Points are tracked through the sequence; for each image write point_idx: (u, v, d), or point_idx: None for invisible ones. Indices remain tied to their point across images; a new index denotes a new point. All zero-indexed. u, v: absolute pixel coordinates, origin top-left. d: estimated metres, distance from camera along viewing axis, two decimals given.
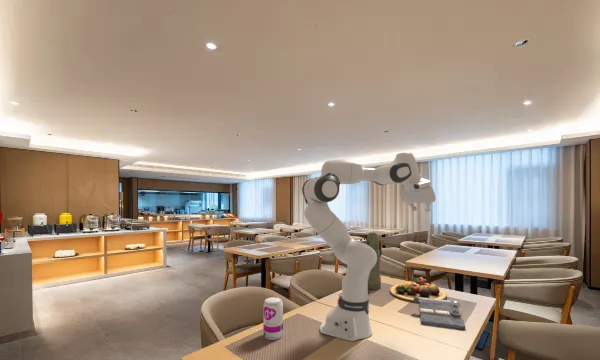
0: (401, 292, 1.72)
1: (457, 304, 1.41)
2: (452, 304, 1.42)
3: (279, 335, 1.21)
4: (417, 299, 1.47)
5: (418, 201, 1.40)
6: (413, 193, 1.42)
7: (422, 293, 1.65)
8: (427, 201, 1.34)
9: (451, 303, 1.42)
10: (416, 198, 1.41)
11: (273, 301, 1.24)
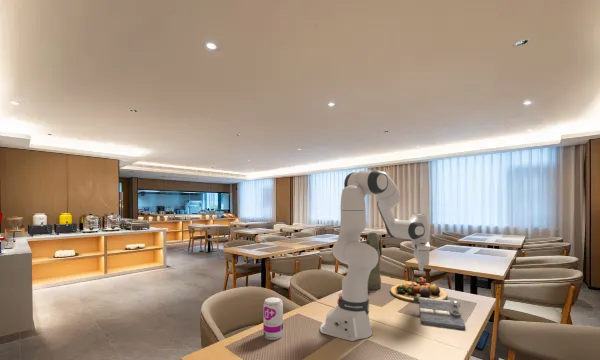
0: (401, 292, 1.72)
1: (457, 304, 1.41)
2: (452, 304, 1.42)
3: (279, 335, 1.21)
4: (417, 299, 1.47)
5: (418, 260, 1.54)
6: (417, 252, 1.56)
7: (422, 293, 1.65)
8: (420, 262, 1.48)
9: (451, 303, 1.42)
10: (417, 257, 1.55)
11: (273, 301, 1.24)
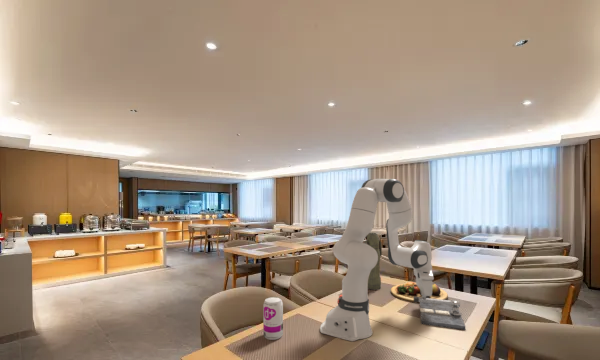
0: (402, 292, 1.72)
1: (457, 304, 1.41)
2: (452, 304, 1.42)
3: (279, 335, 1.21)
4: (417, 299, 1.47)
5: (420, 289, 1.49)
6: (420, 280, 1.51)
7: None
8: (423, 293, 1.43)
9: (451, 303, 1.42)
10: (420, 286, 1.50)
11: (273, 301, 1.24)
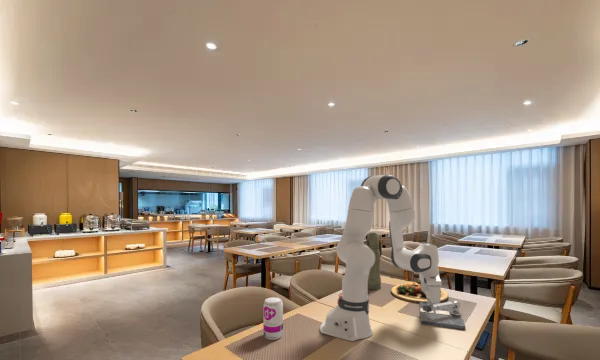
0: (402, 292, 1.72)
1: (459, 304, 1.41)
2: (455, 305, 1.41)
3: (279, 335, 1.21)
4: (430, 308, 1.35)
5: (427, 295, 1.39)
6: (426, 285, 1.41)
7: (423, 293, 1.65)
8: (430, 299, 1.33)
9: (454, 304, 1.41)
10: (426, 292, 1.40)
11: (273, 301, 1.24)
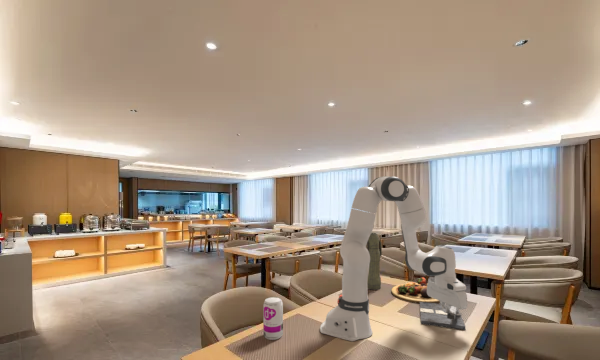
0: (403, 292, 1.72)
1: None
2: None
3: (279, 335, 1.21)
4: (454, 315, 1.27)
5: (446, 302, 1.31)
6: (443, 291, 1.33)
7: (424, 293, 1.65)
8: (457, 306, 1.25)
9: None
10: (444, 298, 1.32)
11: (273, 301, 1.24)
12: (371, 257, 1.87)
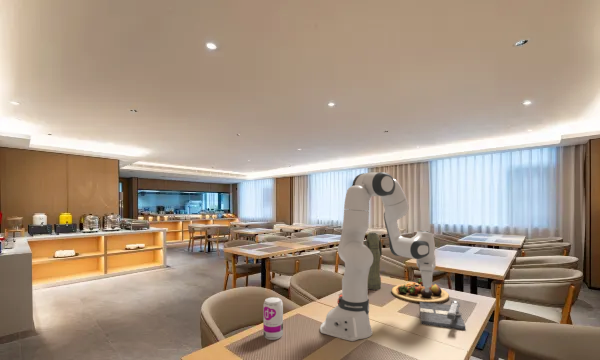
0: (403, 292, 1.71)
1: None
2: (458, 305, 1.40)
3: (279, 335, 1.21)
4: (454, 315, 1.27)
5: None
6: None
7: (424, 294, 1.64)
8: (423, 284, 1.39)
9: (457, 305, 1.40)
10: None
11: (273, 301, 1.24)
12: None
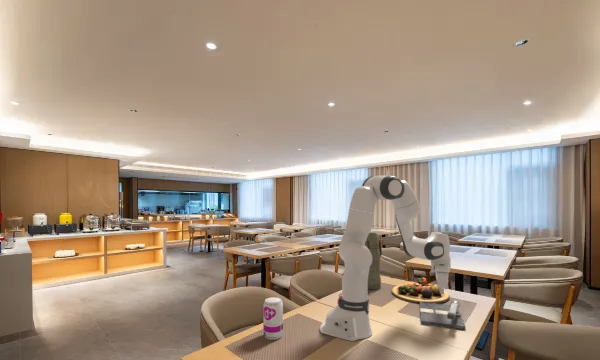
0: (403, 292, 1.71)
1: None
2: (458, 305, 1.40)
3: (279, 335, 1.21)
4: (454, 315, 1.27)
5: (437, 282, 1.43)
6: None
7: (424, 294, 1.64)
8: (438, 285, 1.37)
9: (457, 305, 1.40)
10: (437, 279, 1.44)
11: (273, 301, 1.24)
12: None
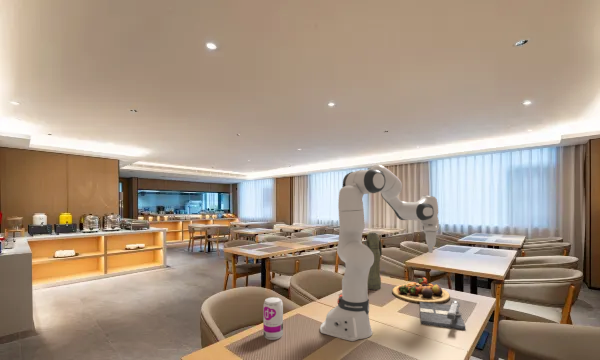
0: (404, 293, 1.71)
1: None
2: (458, 305, 1.40)
3: (279, 335, 1.21)
4: (454, 315, 1.27)
5: None
6: None
7: (425, 294, 1.64)
8: (427, 243, 1.48)
9: (457, 305, 1.40)
10: None
11: (273, 301, 1.24)
12: None
